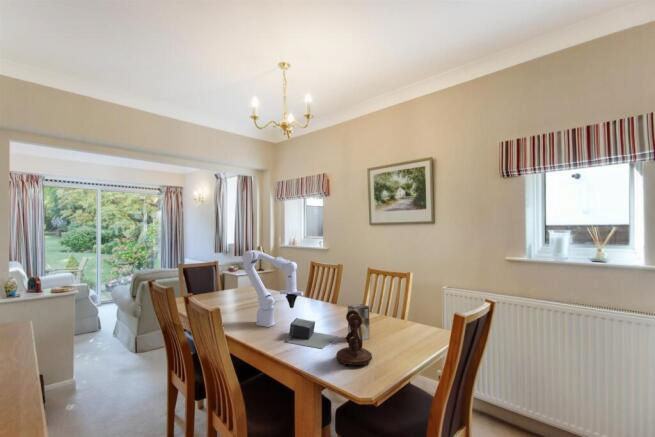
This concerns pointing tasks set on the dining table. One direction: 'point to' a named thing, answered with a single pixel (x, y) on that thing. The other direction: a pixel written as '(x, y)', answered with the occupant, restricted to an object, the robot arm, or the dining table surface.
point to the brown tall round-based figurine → (354, 343)
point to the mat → (313, 340)
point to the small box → (302, 328)
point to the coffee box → (364, 315)
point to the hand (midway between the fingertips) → (291, 307)
